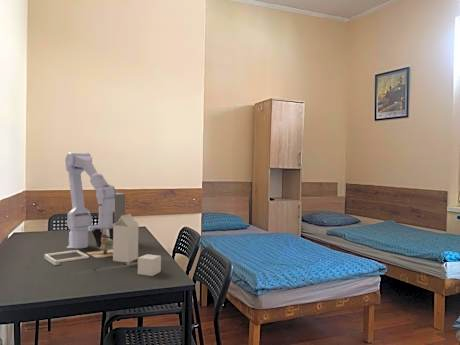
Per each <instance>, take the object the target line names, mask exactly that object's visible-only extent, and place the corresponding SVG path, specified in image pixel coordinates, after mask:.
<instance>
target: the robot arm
mask: <svg viewBox="0 0 460 345" xmlns="http://www.w3.org/2000/svg"><path fill="white" fill-rule="evenodd" d="M64 161H65V168H66V171H67V172H68V183H69V189H70V191H69V192H70V197H71V206H72V208H71V210H70V211H68V213H67V215H66V216H67V220H66V226H67V227H68V229H69V230H70V231H69V233H68V246H66V248H67V249H69V248H71V249H76V250H79V249H85V248H88V246H89V232H91V233H92V235H93V237H94V239H95V242H96V248H97V247H99V248H100V247H101V239H102V234H103V230H104V229H109V234H110V239H112V240H113V225H114V224H116V223H113V199H114V198H115V196H116V193H117V190H116V188H115V186H114V185H111V184H109V183H108V182H107V180H106V179H105V178H104V176H103V174H101V173H98V171H97V170H96V167H95V166H94V164H93V157H92V155H91V154H90V153H89V152H73V151H69V152H68V153H67V154H66V157H65V159H64ZM83 172H85V173H86V174H87V175H88V177H89V178H90V179H89V183H90V184H91V185H92V187H93V189H94V190H95V191H96V193H95V197H96V199H97V204H98V224H93V218H92V215H91V211H90V210H89V209H88V208H87V207H85V199H84V191H83V183H82V173H83ZM101 230H102V231H101ZM99 248H98V249H99Z"/></svg>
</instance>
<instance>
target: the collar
mask: <svg viewBox="0 0 460 345" xmlns="http://www.w3.org/2000/svg"><path fill="white" fill-rule="evenodd" d="M96 248H97V249H100V250H104V249H107V250H108V249H113V240H112V239H109V238H106V239H102V238H101V247H100V248H99V247H97V246H96Z"/></svg>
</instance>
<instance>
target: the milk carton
mask: <svg viewBox="0 0 460 345" xmlns="http://www.w3.org/2000/svg"><path fill="white" fill-rule="evenodd" d="M112 249H113V256H112V261H113V262H119V263H123V265H131V264H133V263H134V261H135V260H138V258H139V223H138V222H137V221H136V220H135V219H134V217H132V213H128V214H125V215H123V216H121V218H120V219H119V220H118V222H117V223H116V224H114V225H113V248H112Z"/></svg>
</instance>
